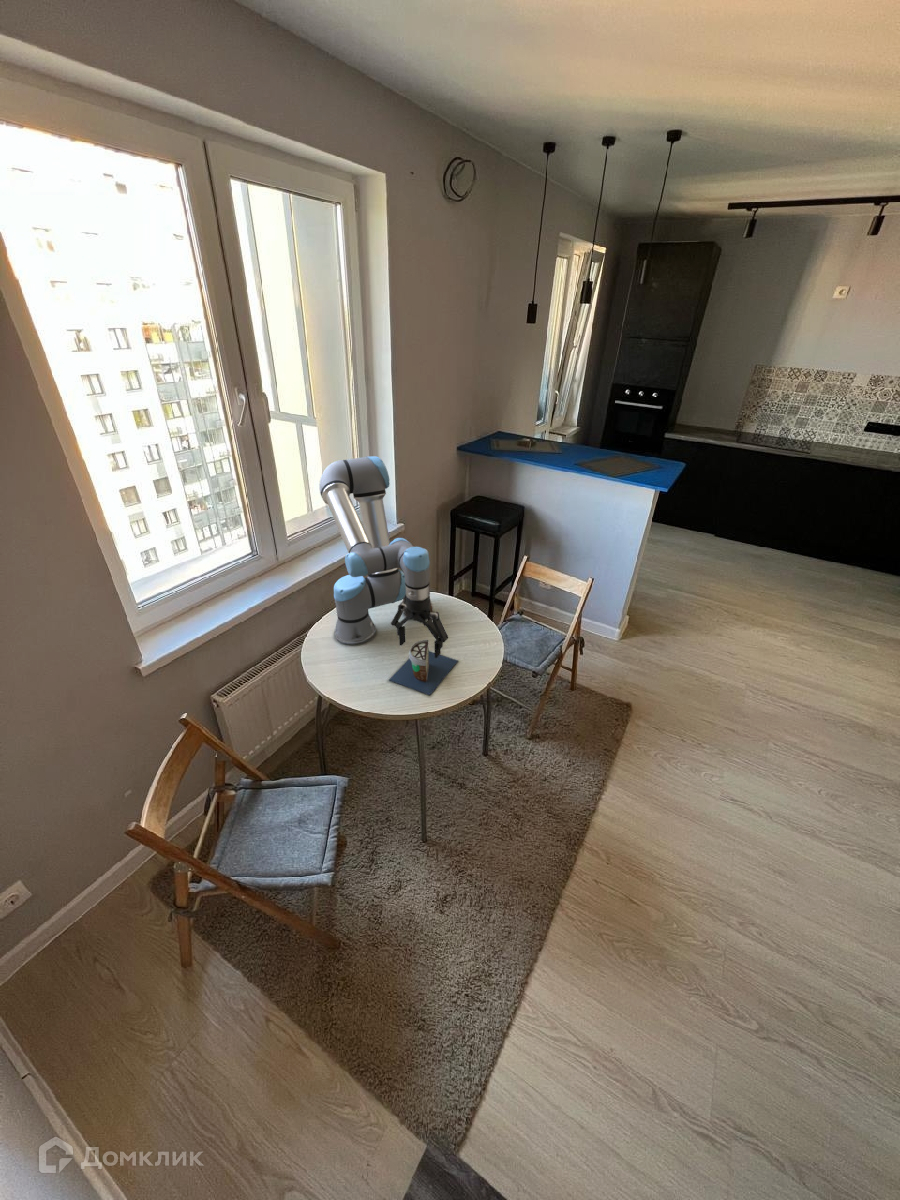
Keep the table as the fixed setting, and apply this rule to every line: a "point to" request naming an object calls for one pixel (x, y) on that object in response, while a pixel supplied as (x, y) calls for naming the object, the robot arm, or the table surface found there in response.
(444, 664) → the mat
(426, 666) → the food container
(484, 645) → the table surface
